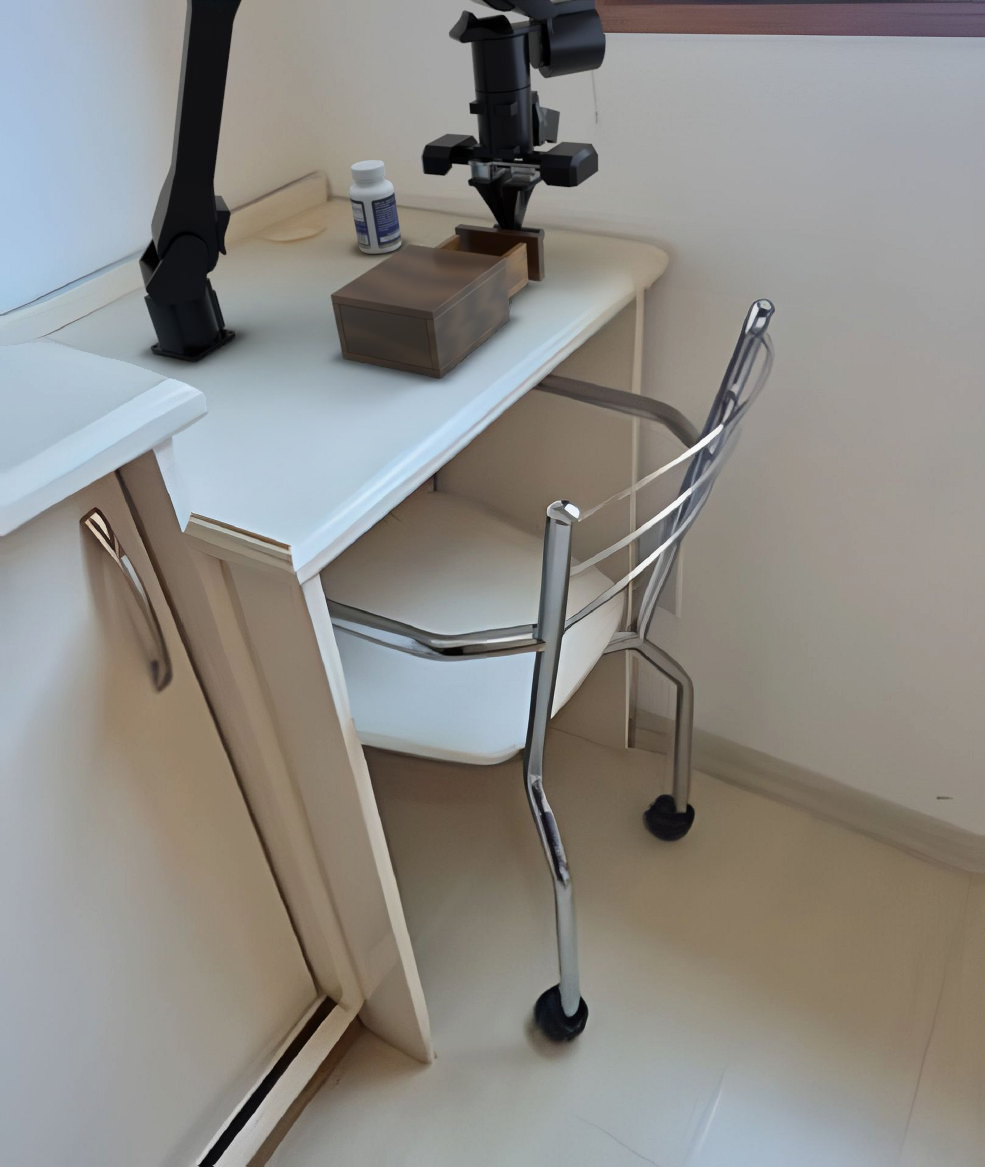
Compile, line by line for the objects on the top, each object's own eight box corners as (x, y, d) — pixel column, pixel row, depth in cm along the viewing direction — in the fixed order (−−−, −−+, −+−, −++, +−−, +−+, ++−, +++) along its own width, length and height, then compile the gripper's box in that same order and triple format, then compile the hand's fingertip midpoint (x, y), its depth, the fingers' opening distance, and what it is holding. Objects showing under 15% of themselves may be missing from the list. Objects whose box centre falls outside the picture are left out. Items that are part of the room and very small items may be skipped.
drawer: (484, 252, 109) (480, 210, 106) (563, 262, 105) (562, 219, 102) (403, 309, 98) (397, 265, 95) (488, 324, 94) (484, 278, 91)
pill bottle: (405, 238, 117) (394, 156, 111) (398, 254, 113) (385, 170, 107) (363, 240, 118) (350, 159, 112) (355, 256, 114) (340, 172, 108)
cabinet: (417, 304, 101) (409, 244, 97) (510, 320, 96) (505, 257, 92) (342, 358, 93) (330, 294, 88) (440, 378, 88) (432, 312, 83)
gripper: (620, 70, 95) (619, 224, 105) (465, 65, 103) (477, 209, 113) (572, 97, 88) (576, 260, 98) (409, 90, 96) (428, 241, 106)
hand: (513, 240), depth 104 cm, fingers closed, pressing on drawer
